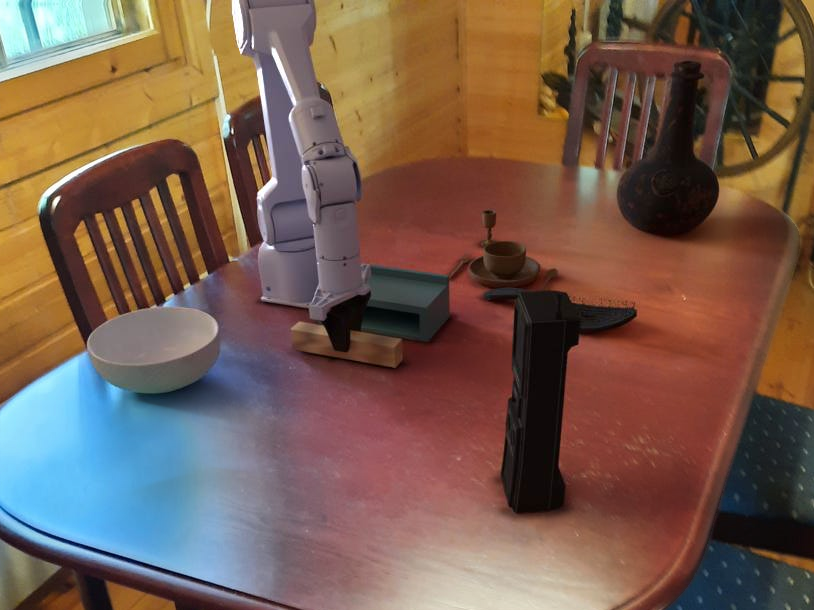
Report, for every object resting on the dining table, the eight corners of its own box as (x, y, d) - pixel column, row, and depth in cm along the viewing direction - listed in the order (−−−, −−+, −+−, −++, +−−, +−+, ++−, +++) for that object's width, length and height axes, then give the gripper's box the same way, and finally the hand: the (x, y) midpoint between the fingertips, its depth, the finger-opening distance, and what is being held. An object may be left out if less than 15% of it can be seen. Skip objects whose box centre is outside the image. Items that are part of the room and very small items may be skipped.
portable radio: (498, 472, 98) (504, 264, 83) (549, 468, 98) (565, 261, 83) (508, 515, 92) (517, 299, 77) (564, 511, 92) (583, 295, 77)
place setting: (440, 283, 141) (439, 248, 137) (481, 240, 155) (481, 208, 152) (543, 298, 135) (545, 262, 132) (575, 252, 150) (578, 219, 146)
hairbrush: (497, 270, 137) (646, 296, 125) (497, 292, 139) (644, 319, 127) (470, 289, 132) (624, 318, 120) (471, 312, 134) (622, 342, 122)
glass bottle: (603, 238, 155) (620, 70, 138) (625, 206, 168) (643, 49, 151) (704, 250, 149) (734, 77, 133) (718, 216, 162) (747, 54, 146)
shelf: (317, 324, 130) (313, 282, 126) (344, 300, 136) (340, 260, 132) (427, 342, 124) (426, 299, 120) (449, 316, 131) (449, 275, 127)
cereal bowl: (112, 424, 108) (98, 375, 104) (89, 368, 120) (76, 322, 116) (242, 390, 114) (234, 343, 110) (208, 340, 126) (199, 296, 122)
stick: (292, 349, 122) (290, 329, 120) (301, 341, 124) (299, 321, 122) (395, 368, 117) (394, 347, 115) (402, 359, 119) (401, 338, 117)
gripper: (340, 277, 105) (349, 374, 113) (388, 236, 116) (393, 327, 124) (290, 270, 107) (302, 365, 115) (341, 230, 118) (349, 320, 126)
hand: (346, 345), depth 120 cm, fingers closed on stick, 2 cm apart
